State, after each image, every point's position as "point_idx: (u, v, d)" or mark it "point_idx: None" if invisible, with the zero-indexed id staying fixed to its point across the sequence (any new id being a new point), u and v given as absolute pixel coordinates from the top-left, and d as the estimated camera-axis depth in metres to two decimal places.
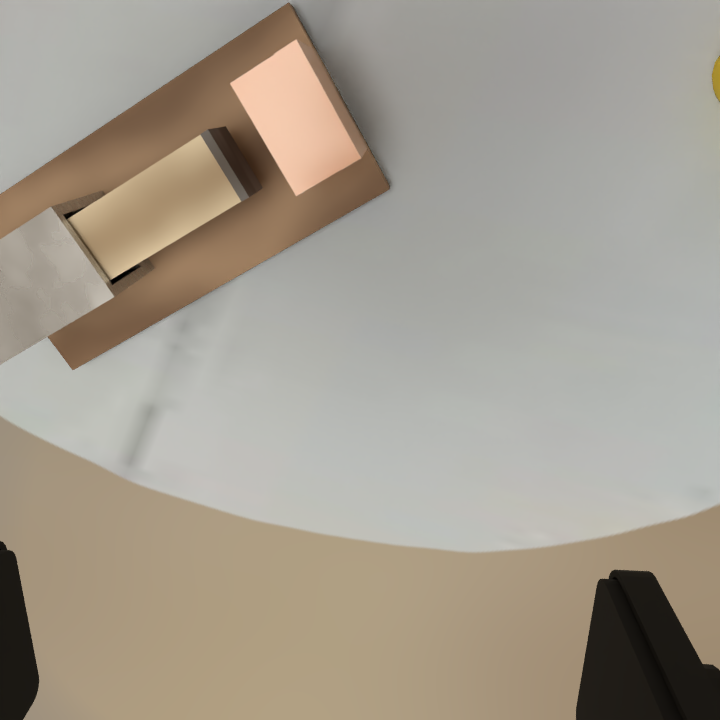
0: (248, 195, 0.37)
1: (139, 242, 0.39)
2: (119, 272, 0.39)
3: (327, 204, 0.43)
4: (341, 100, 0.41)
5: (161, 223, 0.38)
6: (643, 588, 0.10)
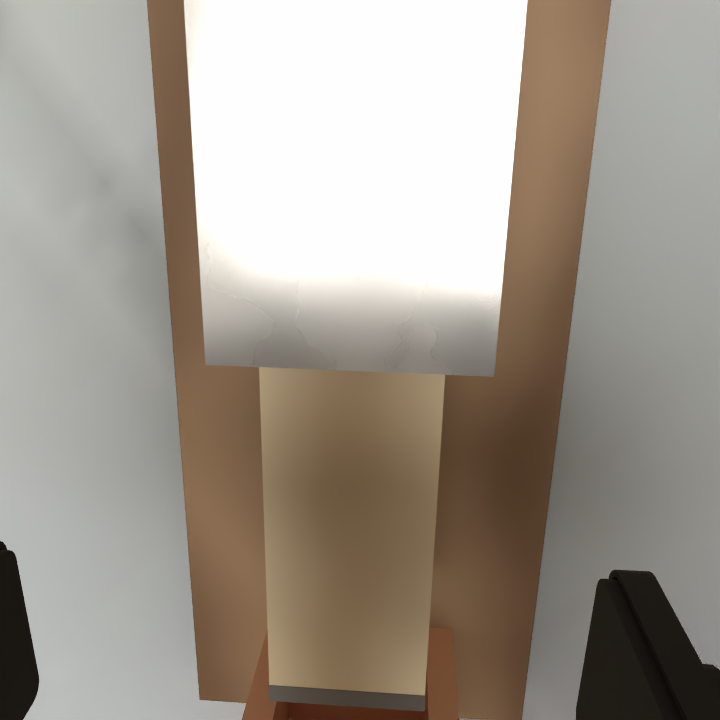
0: (273, 697, 0.18)
1: (301, 468, 0.16)
2: (263, 381, 0.15)
3: (223, 617, 0.24)
4: None
5: (313, 534, 0.16)
6: (643, 588, 0.10)
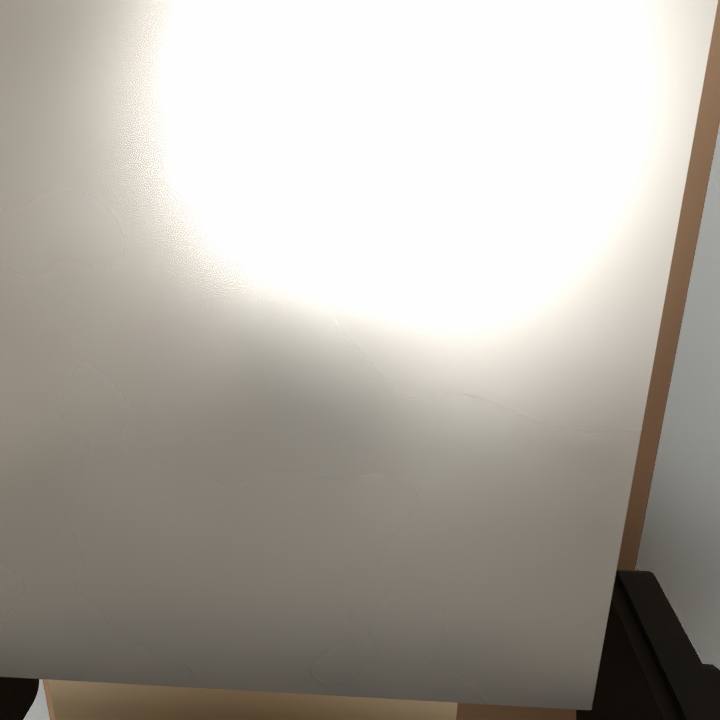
0: None
1: None
2: None
3: None
4: None
5: None
6: (643, 587, 0.10)
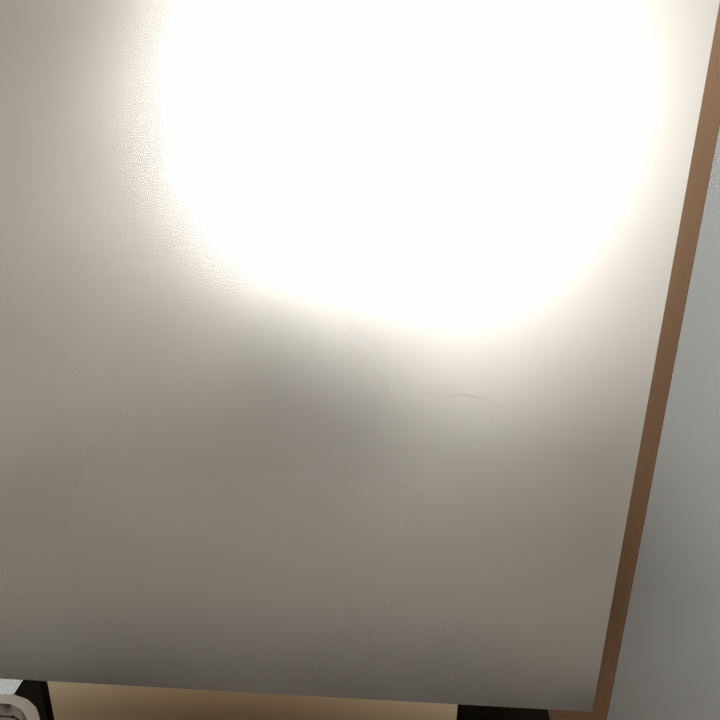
0: None
1: None
2: None
3: None
4: None
5: None
6: None
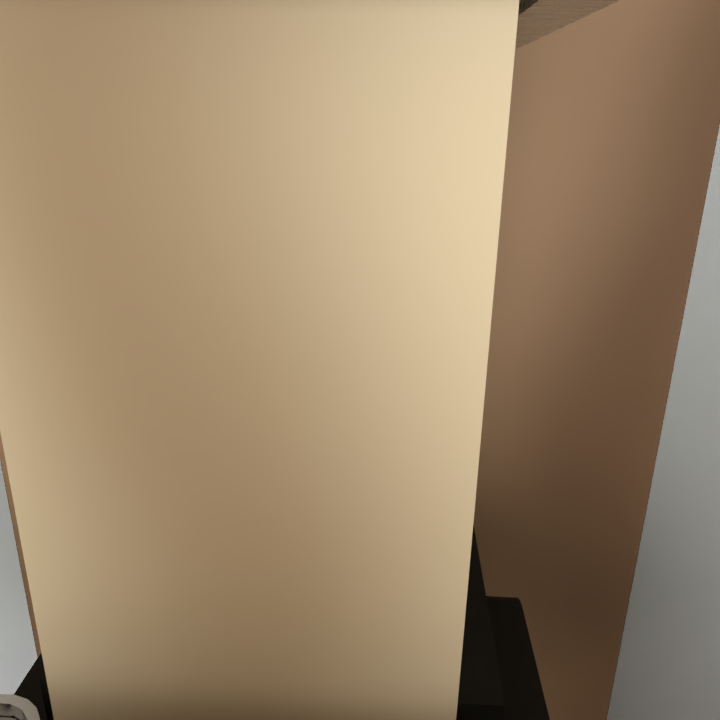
0: None
1: None
2: (52, 658, 0.07)
3: None
4: None
5: None
6: None
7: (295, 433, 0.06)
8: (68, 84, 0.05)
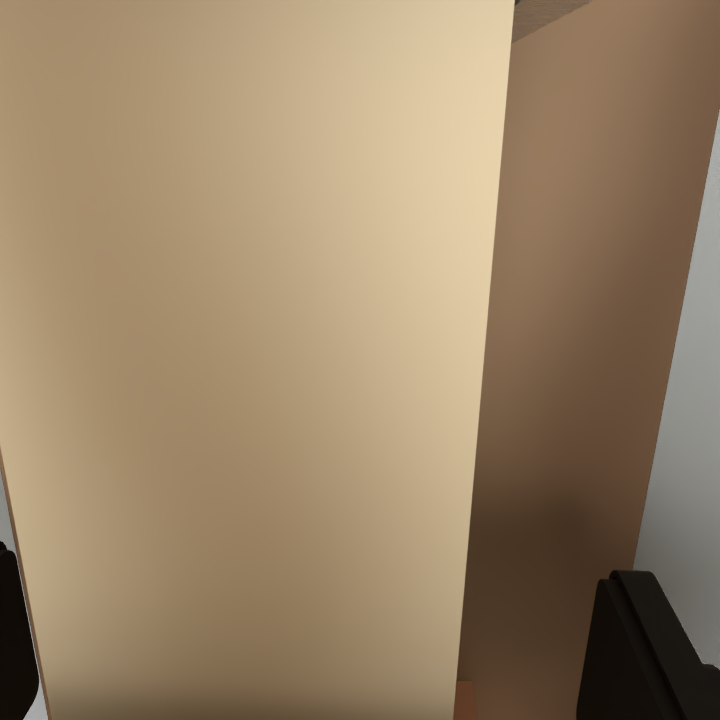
0: None
1: None
2: (48, 650, 0.07)
3: None
4: None
5: None
6: (643, 588, 0.10)
7: (291, 423, 0.06)
8: (63, 72, 0.05)
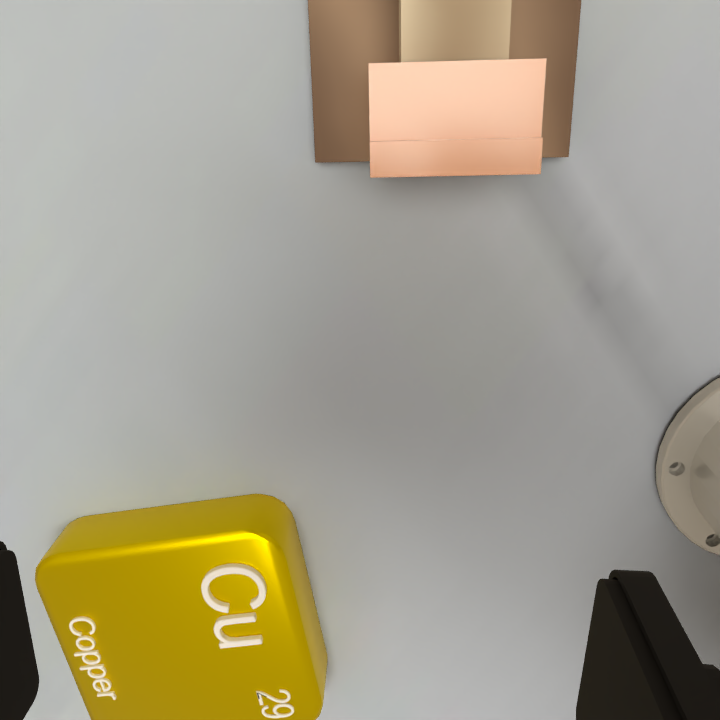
0: None
1: None
2: None
3: (335, 74, 0.31)
4: None
5: None
6: (643, 588, 0.10)
7: None
8: None
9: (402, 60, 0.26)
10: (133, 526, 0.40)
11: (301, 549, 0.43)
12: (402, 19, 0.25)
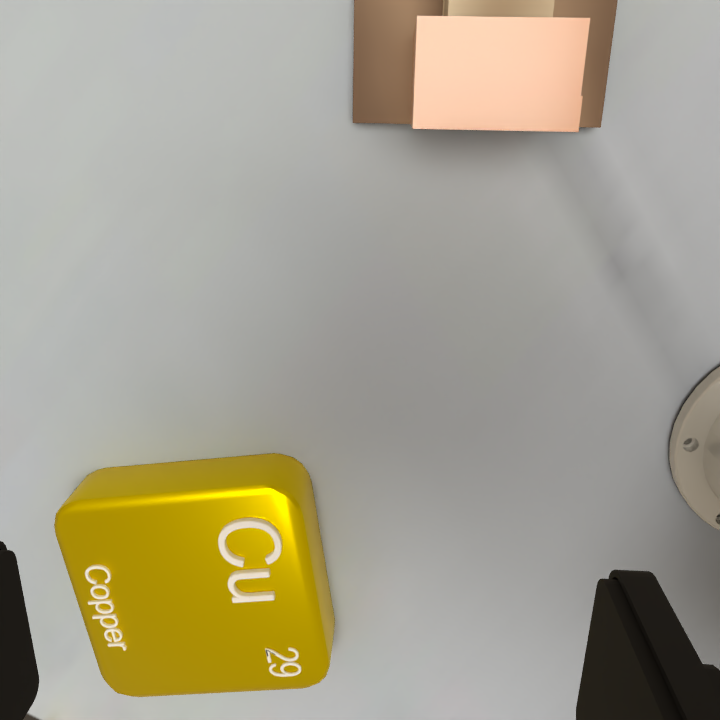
0: None
1: None
2: None
3: (377, 36, 0.32)
4: None
5: None
6: (643, 587, 0.10)
7: None
8: None
9: (449, 15, 0.26)
10: (153, 477, 0.41)
11: None
12: None
